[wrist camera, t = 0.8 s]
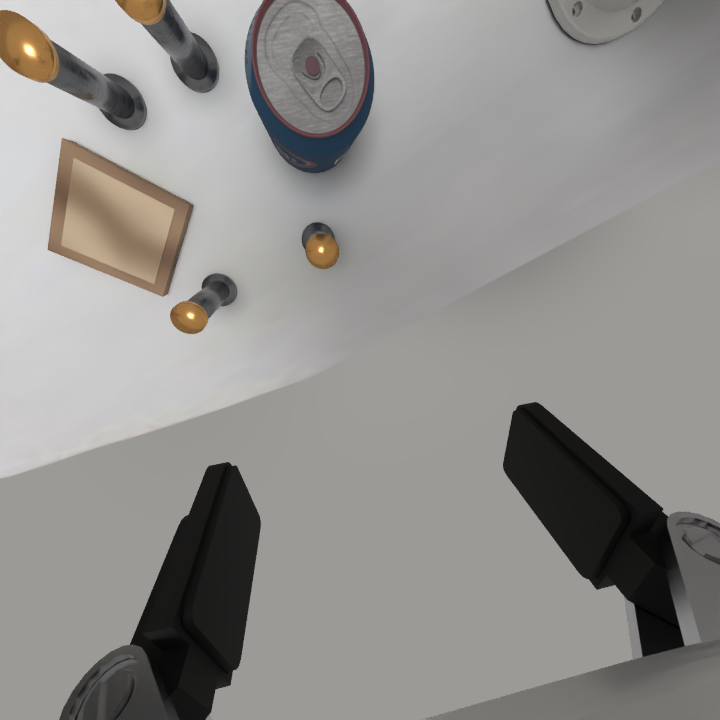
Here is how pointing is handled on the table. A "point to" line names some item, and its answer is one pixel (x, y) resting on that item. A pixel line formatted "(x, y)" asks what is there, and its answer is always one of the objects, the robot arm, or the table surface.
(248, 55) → the soda can
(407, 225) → the table surface
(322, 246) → the post
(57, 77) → the post
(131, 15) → the post
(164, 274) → the walnut coaster
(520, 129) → the table surface
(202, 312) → the post
